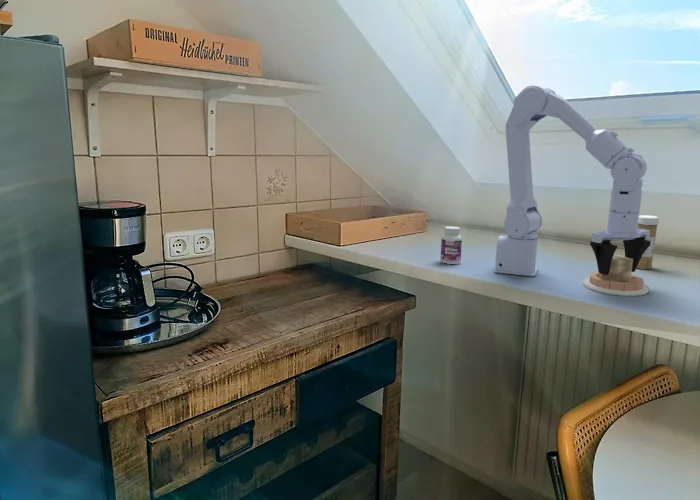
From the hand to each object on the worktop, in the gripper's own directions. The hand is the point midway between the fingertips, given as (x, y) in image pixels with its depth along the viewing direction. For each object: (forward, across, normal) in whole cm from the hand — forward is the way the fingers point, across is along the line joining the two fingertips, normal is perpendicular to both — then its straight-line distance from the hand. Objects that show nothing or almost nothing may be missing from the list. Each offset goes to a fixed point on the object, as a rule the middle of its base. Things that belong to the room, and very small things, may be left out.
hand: (616, 272), depth 109 cm
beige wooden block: (+3, 0, 0) cm, 3 cm away
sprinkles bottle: (+4, +21, +11) cm, 24 cm away
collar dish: (+3, 0, 0) cm, 3 cm away
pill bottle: (+4, -23, +32) cm, 40 cm away
